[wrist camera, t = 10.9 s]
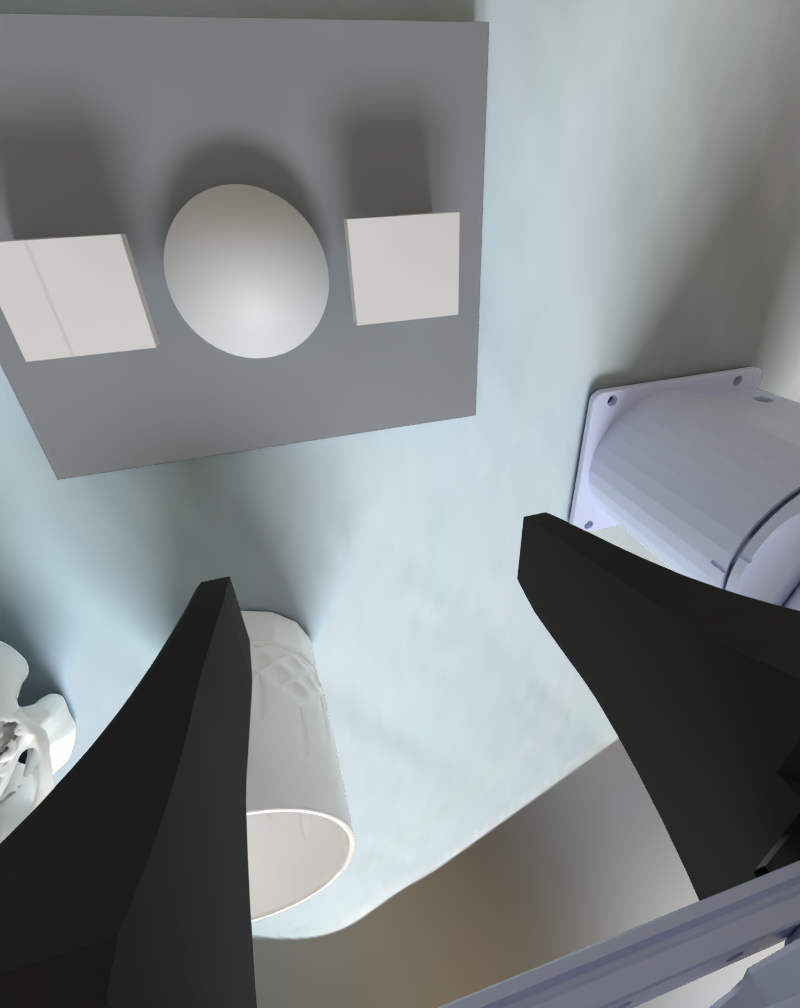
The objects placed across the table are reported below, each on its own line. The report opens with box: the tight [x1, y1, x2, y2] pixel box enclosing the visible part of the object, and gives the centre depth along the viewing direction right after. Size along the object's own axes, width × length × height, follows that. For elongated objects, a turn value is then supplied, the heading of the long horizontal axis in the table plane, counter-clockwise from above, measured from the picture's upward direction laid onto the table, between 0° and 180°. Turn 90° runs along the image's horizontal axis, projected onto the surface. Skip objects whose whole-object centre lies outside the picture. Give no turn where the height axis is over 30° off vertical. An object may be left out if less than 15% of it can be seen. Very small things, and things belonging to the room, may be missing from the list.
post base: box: [0, 13, 489, 480], centre depth 15 cm, size 16×12×4 cm
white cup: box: [241, 611, 356, 922], centre depth 21 cm, size 8×8×10 cm
